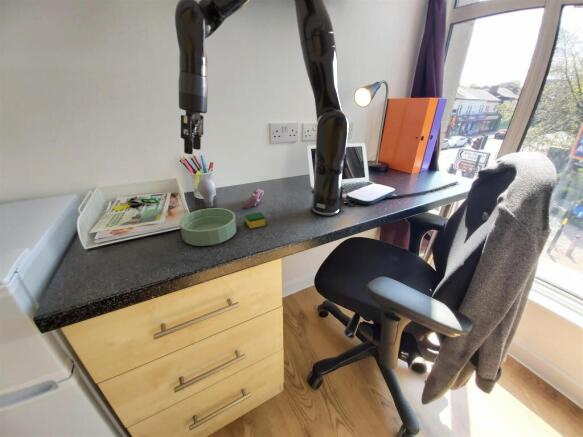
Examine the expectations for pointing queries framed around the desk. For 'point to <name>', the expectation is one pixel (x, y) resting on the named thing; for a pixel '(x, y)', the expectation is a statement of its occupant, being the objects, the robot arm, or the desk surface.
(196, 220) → the bowl
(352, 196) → the external hard drive
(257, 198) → the pink knobbly lump
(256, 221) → the sponge
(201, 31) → the robot arm
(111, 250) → the desk surface
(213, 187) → the lightbulb
